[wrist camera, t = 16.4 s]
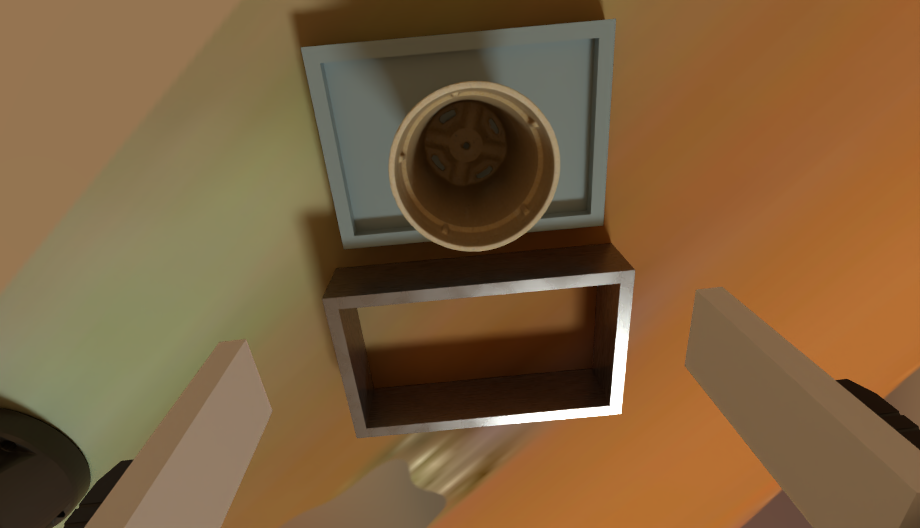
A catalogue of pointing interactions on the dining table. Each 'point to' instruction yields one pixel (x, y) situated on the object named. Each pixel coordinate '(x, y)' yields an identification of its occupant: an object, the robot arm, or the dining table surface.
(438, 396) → the metal holder
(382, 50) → the tray
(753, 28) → the dining table surface
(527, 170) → the flower pot
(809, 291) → the dining table surface
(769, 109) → the dining table surface
